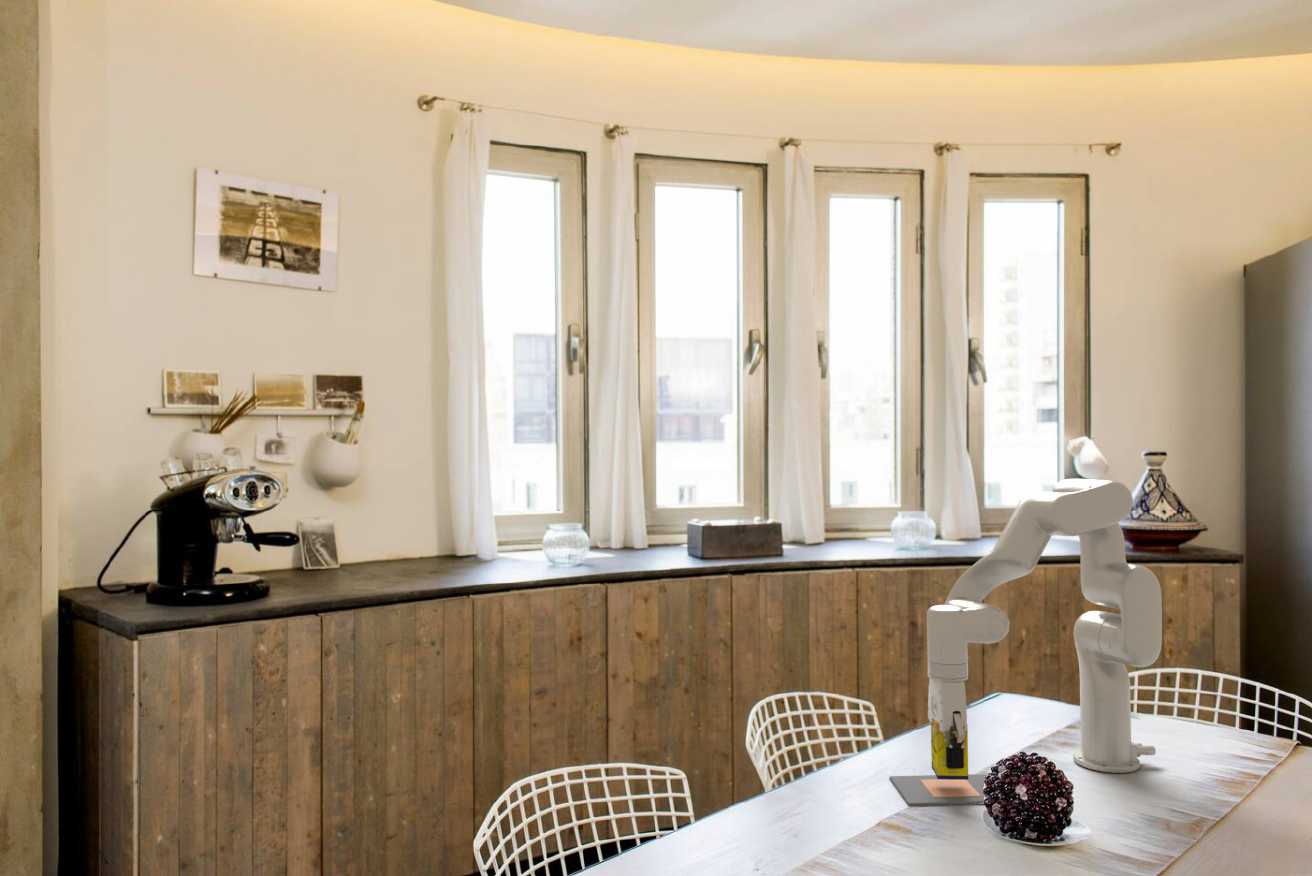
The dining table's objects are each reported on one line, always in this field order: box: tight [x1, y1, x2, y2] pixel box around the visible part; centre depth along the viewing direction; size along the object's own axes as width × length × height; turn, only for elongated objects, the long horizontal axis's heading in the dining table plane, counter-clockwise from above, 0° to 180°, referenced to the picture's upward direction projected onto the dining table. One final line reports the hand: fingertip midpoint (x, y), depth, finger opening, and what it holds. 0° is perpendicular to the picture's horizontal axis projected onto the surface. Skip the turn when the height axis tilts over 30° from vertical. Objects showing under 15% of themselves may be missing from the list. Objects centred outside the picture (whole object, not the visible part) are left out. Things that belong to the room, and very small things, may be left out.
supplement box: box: [930, 719, 969, 780], centre depth 183 cm, size 6×6×11 cm
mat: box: [889, 773, 986, 807], centre depth 183 cm, size 20×14×1 cm
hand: (949, 760), depth 183 cm, fingers closed on supplement box, 6 cm apart
